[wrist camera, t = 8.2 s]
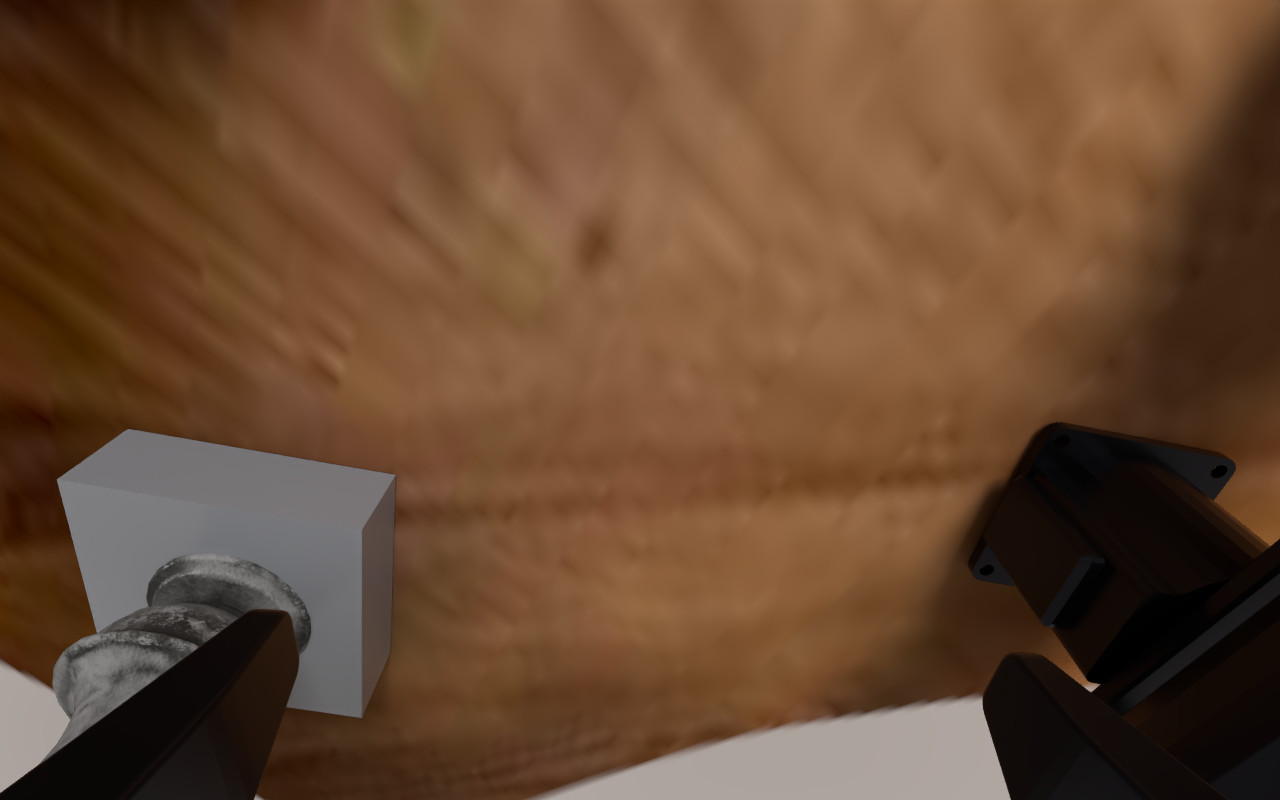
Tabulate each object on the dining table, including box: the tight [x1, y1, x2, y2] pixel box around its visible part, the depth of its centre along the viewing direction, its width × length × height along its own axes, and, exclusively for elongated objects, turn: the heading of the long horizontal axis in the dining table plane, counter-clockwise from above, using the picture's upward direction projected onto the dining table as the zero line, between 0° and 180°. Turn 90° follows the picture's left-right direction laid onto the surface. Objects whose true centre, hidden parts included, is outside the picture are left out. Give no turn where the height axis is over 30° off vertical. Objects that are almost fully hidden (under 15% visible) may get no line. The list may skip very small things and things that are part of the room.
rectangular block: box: [57, 429, 396, 718], centre depth 23 cm, size 9×9×3 cm
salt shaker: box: [41, 553, 311, 763], centre depth 17 cm, size 6×6×12 cm
